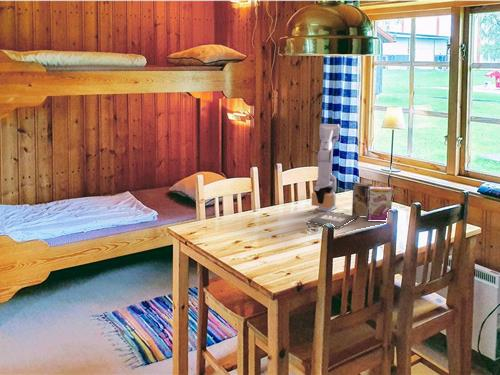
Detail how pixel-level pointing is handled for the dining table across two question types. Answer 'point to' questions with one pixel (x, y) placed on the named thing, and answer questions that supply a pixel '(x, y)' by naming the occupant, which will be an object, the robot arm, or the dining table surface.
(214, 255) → the dining table surface
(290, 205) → the dining table surface
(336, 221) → the pin board
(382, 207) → the candy bar box
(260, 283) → the dining table surface
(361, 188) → the coffee box
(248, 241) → the dining table surface
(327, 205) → the block
